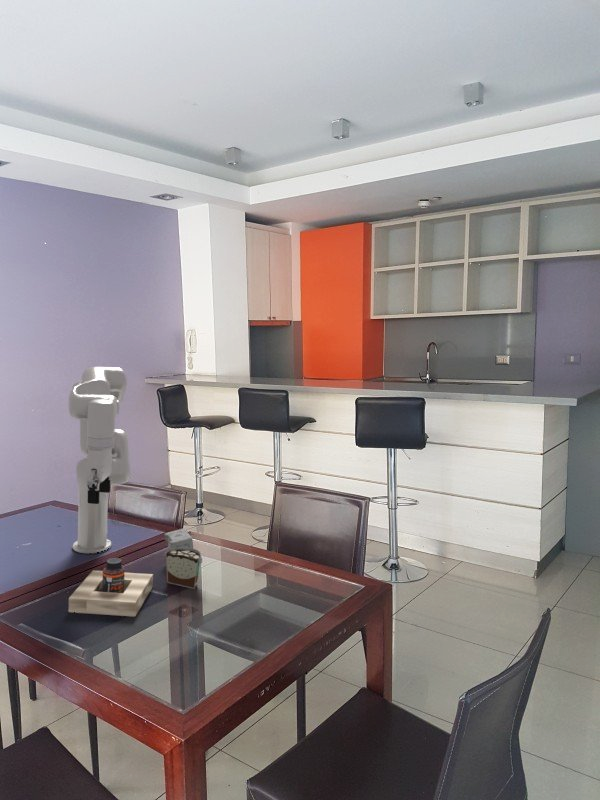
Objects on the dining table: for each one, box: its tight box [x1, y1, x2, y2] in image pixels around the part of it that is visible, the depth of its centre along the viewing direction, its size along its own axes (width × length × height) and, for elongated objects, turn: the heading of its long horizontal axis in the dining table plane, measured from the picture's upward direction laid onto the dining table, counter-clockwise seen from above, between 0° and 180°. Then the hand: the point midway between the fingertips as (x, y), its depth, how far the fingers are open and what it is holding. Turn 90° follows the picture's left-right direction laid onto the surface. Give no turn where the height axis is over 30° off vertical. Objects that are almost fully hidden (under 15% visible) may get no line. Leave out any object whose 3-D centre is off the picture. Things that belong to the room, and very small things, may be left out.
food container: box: [163, 547, 203, 590], centre depth 180 cm, size 12×6×10 cm, turn 71°
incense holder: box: [163, 528, 194, 550], centre depth 193 cm, size 10×8×10 cm
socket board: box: [68, 569, 154, 617], centre depth 167 cm, size 18×18×4 cm
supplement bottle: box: [102, 557, 126, 593], centre depth 166 cm, size 6×6×11 cm
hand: (99, 497), depth 174 cm, fingers open, 9 cm apart
